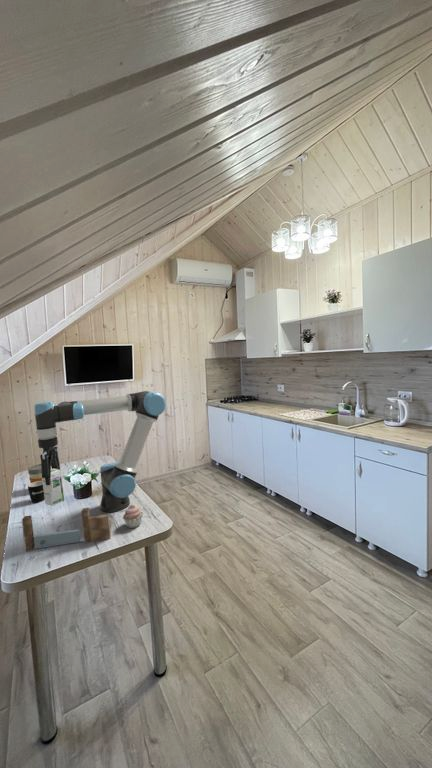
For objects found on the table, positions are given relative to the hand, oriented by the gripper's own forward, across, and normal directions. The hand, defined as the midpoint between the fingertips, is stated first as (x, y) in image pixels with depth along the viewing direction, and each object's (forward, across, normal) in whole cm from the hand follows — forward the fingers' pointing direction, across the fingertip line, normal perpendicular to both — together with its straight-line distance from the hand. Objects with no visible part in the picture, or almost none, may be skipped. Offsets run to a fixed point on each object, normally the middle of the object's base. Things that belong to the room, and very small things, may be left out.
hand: (53, 487), depth 141 cm
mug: (+23, -46, -24) cm, 57 cm away
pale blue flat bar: (+22, +8, +2) cm, 24 cm away
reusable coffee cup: (+23, -63, -30) cm, 74 cm away
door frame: (+22, +8, +7) cm, 25 cm away
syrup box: (+7, 0, 0) cm, 7 cm away
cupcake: (+23, 0, +33) cm, 40 cm away
